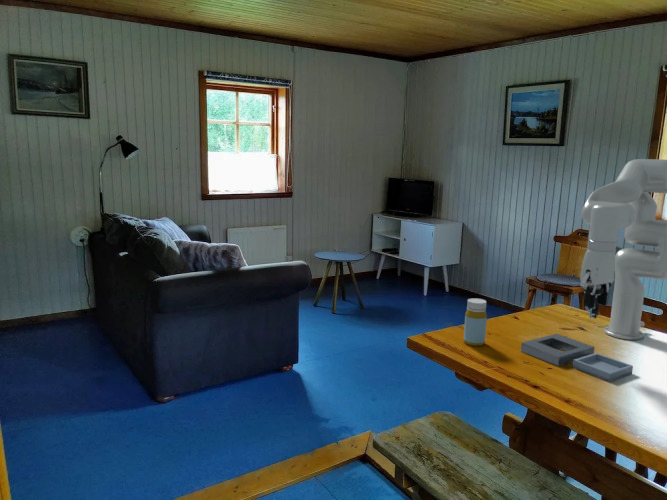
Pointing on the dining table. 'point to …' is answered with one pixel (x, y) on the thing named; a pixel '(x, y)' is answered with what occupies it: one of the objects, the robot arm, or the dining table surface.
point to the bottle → (475, 322)
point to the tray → (602, 367)
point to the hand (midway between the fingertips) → (595, 304)
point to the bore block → (556, 357)
